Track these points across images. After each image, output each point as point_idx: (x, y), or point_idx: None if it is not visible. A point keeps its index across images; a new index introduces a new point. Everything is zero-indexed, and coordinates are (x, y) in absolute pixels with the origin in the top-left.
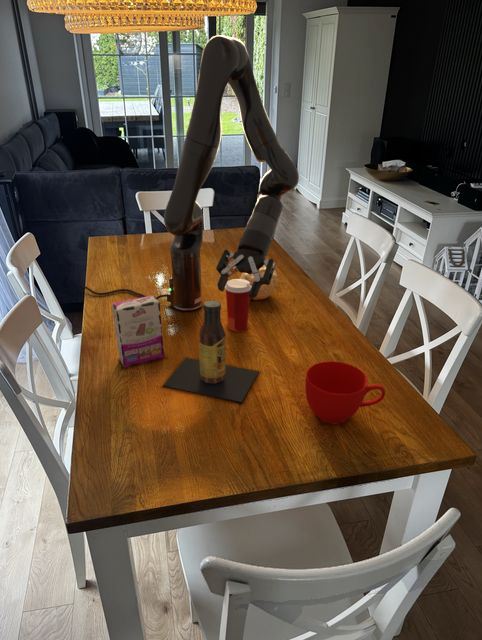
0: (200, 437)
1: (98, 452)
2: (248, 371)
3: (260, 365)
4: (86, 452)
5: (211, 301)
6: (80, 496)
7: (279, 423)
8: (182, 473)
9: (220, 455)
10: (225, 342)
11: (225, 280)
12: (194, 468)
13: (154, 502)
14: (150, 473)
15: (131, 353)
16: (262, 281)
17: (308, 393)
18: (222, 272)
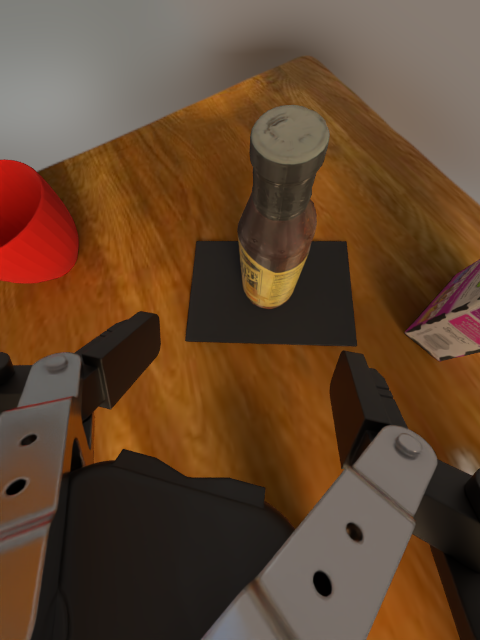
0: (234, 164)
1: (343, 111)
2: (205, 332)
3: (187, 370)
4: (357, 107)
5: (301, 148)
6: (319, 69)
7: (133, 218)
8: (233, 116)
9: (199, 147)
10: (239, 249)
11: (347, 419)
12: (223, 124)
13: (245, 83)
14: (267, 106)
15: (469, 269)
16: (28, 367)
17: (58, 197)
18: (413, 441)
